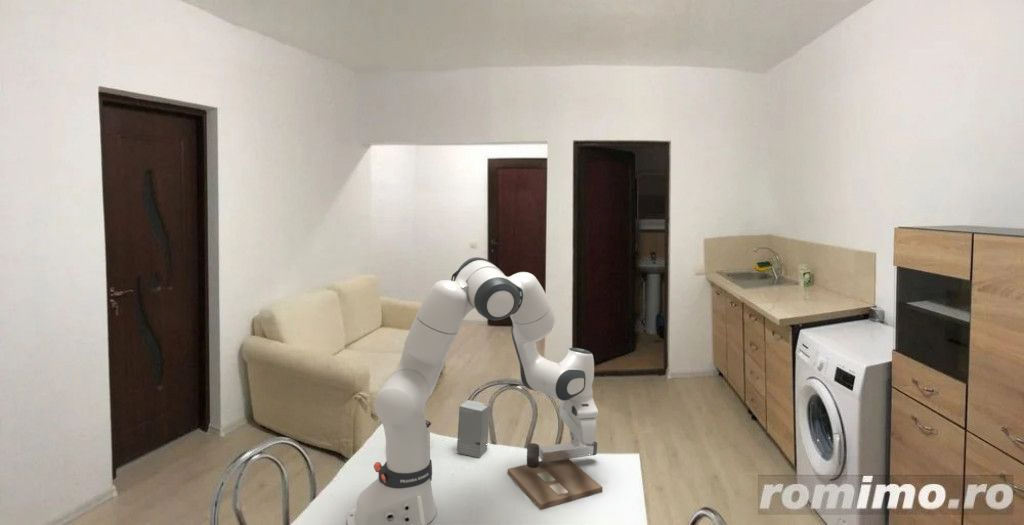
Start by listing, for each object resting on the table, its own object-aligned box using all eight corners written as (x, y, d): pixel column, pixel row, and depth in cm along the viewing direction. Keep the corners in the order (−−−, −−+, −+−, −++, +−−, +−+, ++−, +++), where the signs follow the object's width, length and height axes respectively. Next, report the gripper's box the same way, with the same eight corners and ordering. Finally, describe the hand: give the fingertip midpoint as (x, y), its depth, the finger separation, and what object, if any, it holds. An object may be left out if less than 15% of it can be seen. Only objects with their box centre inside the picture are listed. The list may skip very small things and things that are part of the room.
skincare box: (456, 453, 172) (456, 406, 170) (466, 444, 179) (466, 398, 177) (480, 459, 169) (480, 411, 167) (489, 449, 176) (490, 402, 174)
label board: (540, 509, 143) (541, 483, 142) (506, 472, 161) (506, 448, 160) (602, 491, 152) (603, 466, 151) (563, 458, 170) (563, 436, 169)
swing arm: (543, 462, 162) (543, 452, 161) (538, 455, 166) (539, 446, 165) (599, 454, 167) (599, 445, 167) (593, 448, 171) (593, 439, 170)
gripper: (555, 388, 170) (553, 430, 172) (580, 415, 151) (577, 462, 152) (574, 387, 172) (571, 428, 174) (601, 414, 152) (598, 460, 154)
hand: (574, 444), depth 163 cm, fingers closed
